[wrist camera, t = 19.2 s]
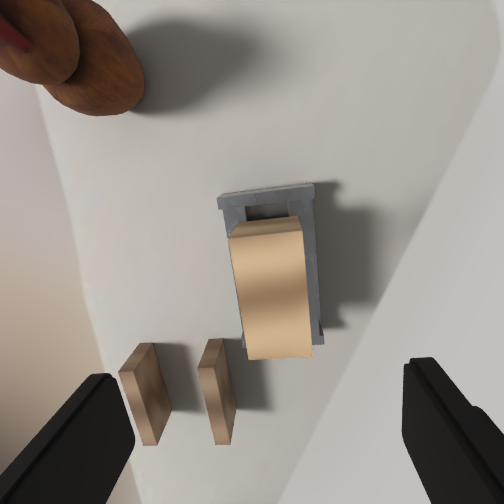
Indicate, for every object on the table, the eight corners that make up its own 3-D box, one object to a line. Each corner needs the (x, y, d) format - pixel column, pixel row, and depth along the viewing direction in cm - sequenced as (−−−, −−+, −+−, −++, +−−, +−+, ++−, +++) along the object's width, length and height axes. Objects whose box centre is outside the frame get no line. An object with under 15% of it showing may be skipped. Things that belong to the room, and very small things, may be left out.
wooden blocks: (236, 408, 34) (230, 444, 30) (159, 410, 35) (143, 445, 31) (222, 338, 31) (213, 367, 26) (139, 343, 32) (118, 372, 28)
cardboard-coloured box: (306, 320, 26) (312, 356, 21) (253, 324, 27) (248, 360, 22) (297, 215, 23) (302, 230, 18) (238, 222, 24) (228, 238, 19)
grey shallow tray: (320, 328, 29) (324, 344, 27) (245, 333, 30) (242, 348, 28) (310, 182, 25) (314, 185, 22) (222, 193, 26) (216, 197, 23)
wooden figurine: (70, 49, 23) (-262, -123, 9) (129, 15, 22) (-143, -245, 8) (111, 132, 25) (-110, 99, 11) (168, 105, 24) (4, 27, 10)
